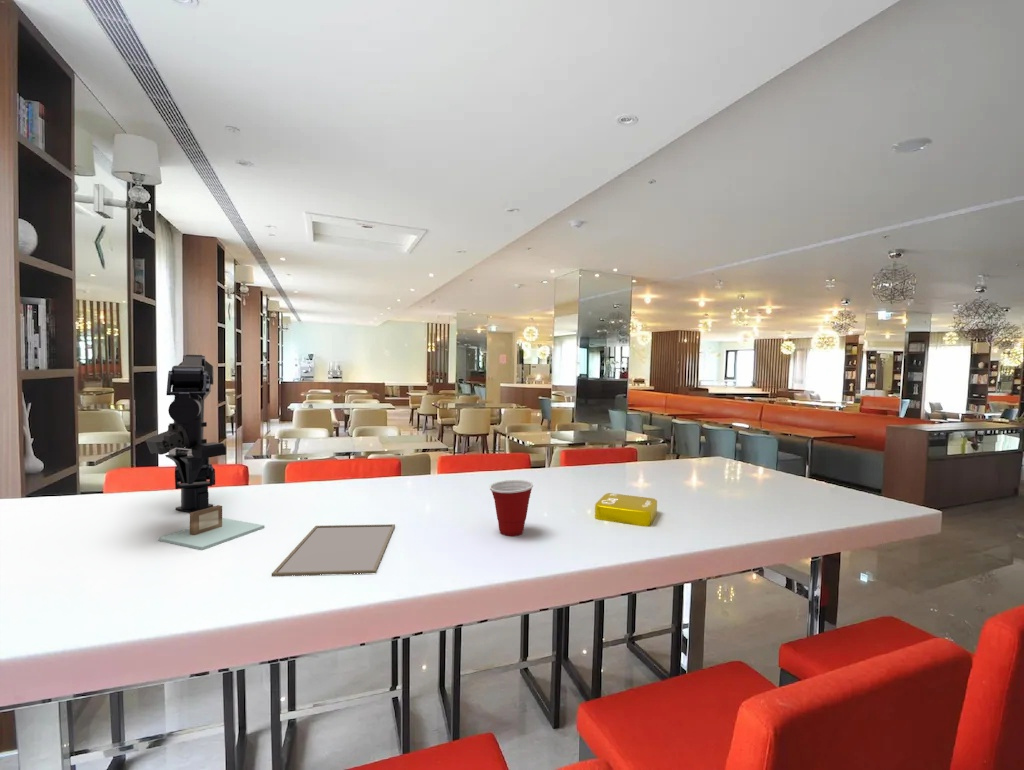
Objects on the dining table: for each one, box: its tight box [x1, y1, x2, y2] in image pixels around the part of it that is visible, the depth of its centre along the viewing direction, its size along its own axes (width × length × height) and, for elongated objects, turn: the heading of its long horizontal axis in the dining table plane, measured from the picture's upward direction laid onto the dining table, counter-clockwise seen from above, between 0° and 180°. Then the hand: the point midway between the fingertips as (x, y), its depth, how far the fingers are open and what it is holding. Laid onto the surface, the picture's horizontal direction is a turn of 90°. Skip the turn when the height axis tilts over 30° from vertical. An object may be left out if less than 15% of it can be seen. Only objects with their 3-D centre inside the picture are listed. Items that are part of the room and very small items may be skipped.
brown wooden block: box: [189, 504, 223, 535], centre depth 114 cm, size 2×7×5 cm, turn 159°
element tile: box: [594, 492, 658, 527], centre depth 135 cm, size 15×15×5 cm
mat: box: [157, 517, 265, 551], centre depth 114 cm, size 14×16×1 cm
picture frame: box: [271, 524, 396, 577], centre depth 107 cm, size 19×1×28 cm
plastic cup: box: [489, 479, 534, 537], centre depth 119 cm, size 11×11×12 cm
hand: (188, 483), depth 117 cm, fingers closed
